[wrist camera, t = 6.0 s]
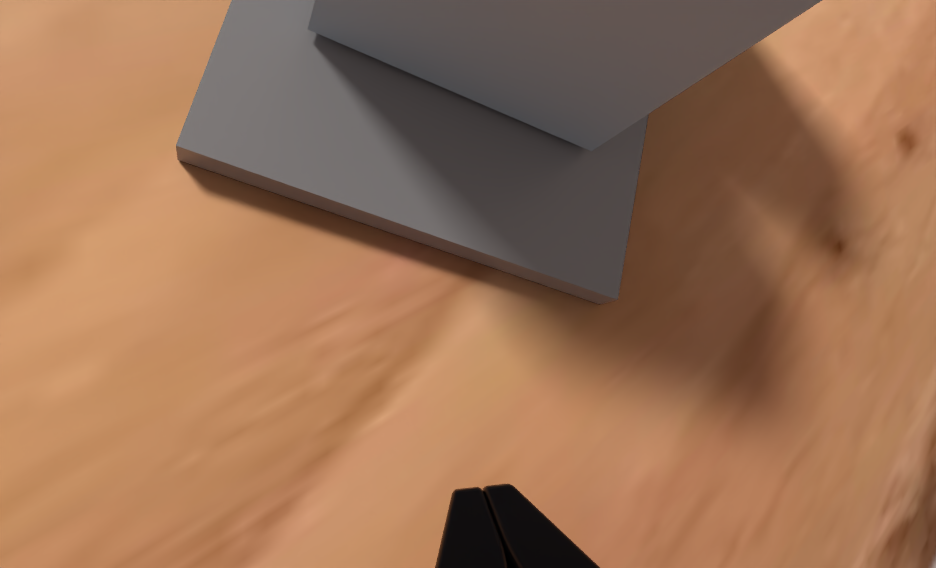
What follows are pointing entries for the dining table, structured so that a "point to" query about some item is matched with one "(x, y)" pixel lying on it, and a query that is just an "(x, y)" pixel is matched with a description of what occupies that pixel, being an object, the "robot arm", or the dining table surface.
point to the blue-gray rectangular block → (557, 51)
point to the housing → (409, 154)
